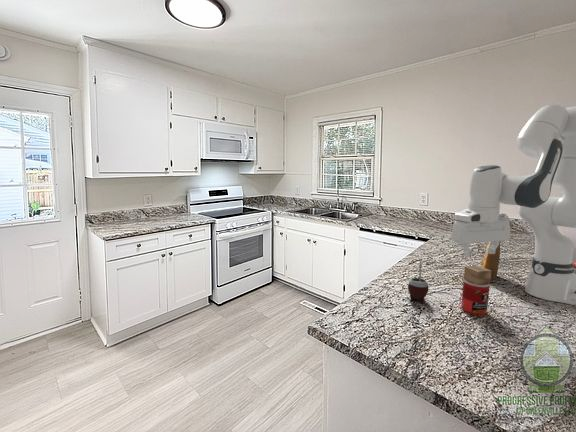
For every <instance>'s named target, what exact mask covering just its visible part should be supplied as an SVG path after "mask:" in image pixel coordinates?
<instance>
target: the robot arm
mask: <svg viewBox="0 0 576 432" xmlns="http://www.w3.org/2000/svg"><path fill="white" fill-rule="evenodd" d="M516 145H517V147H518V149H519V151H521V152H522V153H523V154H524V155H526V156H528V157H529V158H530V157H532V158H535V159H538V160H539V161H538V162H537V165H536V168H535V171H534V172H533V173H531V174H527V175H507V174H506V173H503V171H502V167H501V166H499V165H495V164H494V165H493V164H492V165H483V166H477V167H476V168H474V170H473V172H472V174H471V179H470V184H469V196H470V197H469V199H470V200H469V202H468V207H467V208H465V209H463V210H461V211H458V212H456V213H455V214H453V218H454V220H455V221H454V223H453V225H452V229H451V240H452V241H453V243H456V244H459V245H461V247H462V249H463V255H464V256H466V257H470V256H472V255H473V254H472V253H473V251H472V250H470V248H469V247H470V246H471V244H479V243H480V244H481V243H489V242H491V243H492V244H491V246H490V248H488V251H487V252H488V253H489V254H495V250H496V248H497V247H498V245H499V241H501V242H506V241H509V239H510V237H511V225H510V224H511V223H510V217H509V216H508V215H507V214H506V213H500V208H501V204H503V205H509V206H510V205H512V206H518V214H519V216H520V218H521V219H522V220H523V221H525V222H526V223H527V224H528V226H529V227H530V229H531V230H532V233H533V235H534V240H535V243H534V246H535V247H534V254H533V255H534V256H533V257H532V260H531V267H532V268H530V269H529V271H528V277H527V280H526V282H525V283H524V284H523V287H524V292H526V293H527V294H529V295H531V296H533V297H536V298H539V299H542V300H546V301H550V302H557V303H561V304H567V305H572V306H575V305H576V273H575V269H576V262H573V255H574V250H575V249H574V248H575V245H574V243H573V241H572V240H571V239H570V238H568V237H567V236H565V235H563V233H561V231H560V230H559V228H558V227H562V228H563V227H565V228H573V229H576V105H575V106H570V107H568V106H567V107H564V106H563V105H560V104H553V103H552V104H547V105H544V106H541V108H539V109H538V110H537V111H536V112H535V113H534V114H533V115H532V116H531V117H530V118H529V119H528V120H527V122H526V123H525V125H523V127H522V129H521V130H520V132H519V134H518V135H517V137H516ZM552 186H553V187H556V188H558V189H559V190H562V196H550V195H551V190H552Z"/></svg>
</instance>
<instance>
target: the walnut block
mask: <svg viewBox="0 0 576 432" xmlns="http://www.w3.org/2000/svg"><path fill="white" fill-rule="evenodd" d="M463 270H464V271H463V280H464V279H465V280H467V281H470V282H472V283H474V284H476V285H477V284H488V283H490V284H491V281H490V279H491V270H488V269H486V268H483V267H481V265H469V266H467V265H466V266H464V269H463Z"/></svg>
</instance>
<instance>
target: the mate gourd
mask: <svg viewBox="0 0 576 432" xmlns="http://www.w3.org/2000/svg"><path fill="white" fill-rule="evenodd" d="M418 268H419V270H418V271H419V275H418V276H419V277H413V278H411V279H410V280H409V281H408V284H407V290H408V292H409V296H410V299H409V302H413V303H414V302H418V303H419V304H422V305H424V304H425V302H424V301H425V300H426V299H425V297H427V295H428V293H429V284H428V282H427V280H425V279H423V278H422V258H419V267H418Z"/></svg>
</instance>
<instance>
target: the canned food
mask: <svg viewBox="0 0 576 432" xmlns="http://www.w3.org/2000/svg"><path fill="white" fill-rule="evenodd" d="M462 283H463V284H462V294H461V303H460V307H461V309H462V311H463V312H465V313H467V314H470V315H473V316H479V317H481V316H485V315H487V313H488V307H489V306H488V304H489V296H490V285H491V282H490V283H488V284H477V285H476V284H474V283H472V282H470V281H467V280H465V279H464V278H463V282H462Z"/></svg>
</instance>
